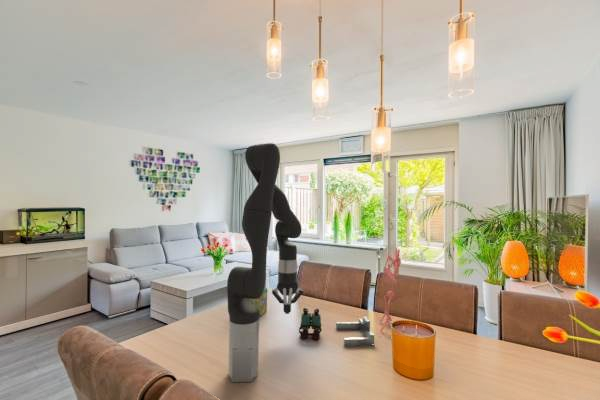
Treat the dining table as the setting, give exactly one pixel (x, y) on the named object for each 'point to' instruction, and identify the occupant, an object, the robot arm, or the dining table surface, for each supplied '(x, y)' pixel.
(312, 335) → the binoculars
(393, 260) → the figurine
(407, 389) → the dining table surface
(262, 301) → the chalk box
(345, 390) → the dining table surface
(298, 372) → the dining table surface
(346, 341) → the bracket
